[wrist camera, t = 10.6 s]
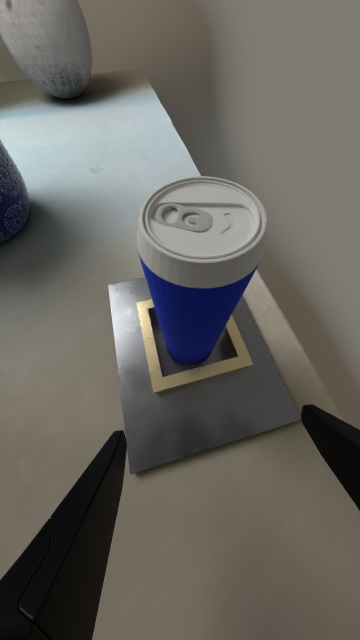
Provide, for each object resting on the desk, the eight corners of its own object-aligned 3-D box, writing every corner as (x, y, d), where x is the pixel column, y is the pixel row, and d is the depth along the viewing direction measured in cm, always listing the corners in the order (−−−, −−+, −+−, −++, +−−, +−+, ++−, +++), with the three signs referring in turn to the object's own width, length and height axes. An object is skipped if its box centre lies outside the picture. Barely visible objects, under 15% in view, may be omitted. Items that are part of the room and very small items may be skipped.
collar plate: (297, 418, 18) (325, 421, 14) (132, 471, 16) (119, 489, 13) (223, 263, 26) (229, 242, 22) (110, 288, 24) (98, 269, 21)
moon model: (108, 104, 51) (68, -62, 33) (33, 115, 48) (-55, -58, 30) (99, 81, 59) (62, -62, 41) (34, 90, 57) (-36, -59, 38)
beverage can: (215, 325, 21) (275, 178, 7) (209, 370, 19) (278, 281, 5) (171, 318, 21) (151, 166, 8) (161, 361, 19) (108, 256, 6)
